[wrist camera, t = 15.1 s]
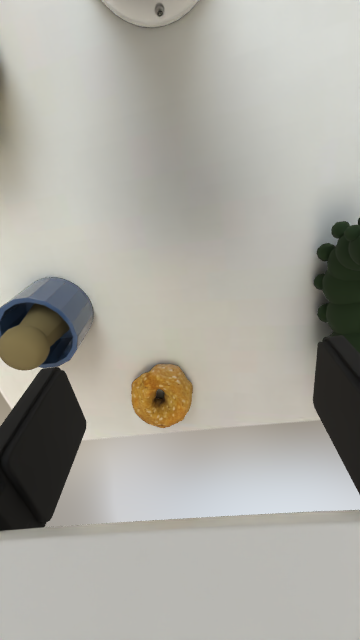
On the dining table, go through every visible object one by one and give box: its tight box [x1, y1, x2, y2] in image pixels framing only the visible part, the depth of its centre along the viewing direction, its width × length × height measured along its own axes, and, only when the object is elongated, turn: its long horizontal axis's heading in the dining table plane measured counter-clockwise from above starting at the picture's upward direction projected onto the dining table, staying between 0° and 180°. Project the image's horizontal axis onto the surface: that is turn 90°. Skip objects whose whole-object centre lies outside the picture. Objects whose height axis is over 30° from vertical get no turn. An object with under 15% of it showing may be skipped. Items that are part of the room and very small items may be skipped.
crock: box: [0, 277, 94, 368], centre depth 38 cm, size 10×10×7 cm
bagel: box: [131, 364, 193, 428], centre depth 45 cm, size 10×11×5 cm
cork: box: [0, 303, 70, 370], centre depth 36 cm, size 6×6×11 cm
